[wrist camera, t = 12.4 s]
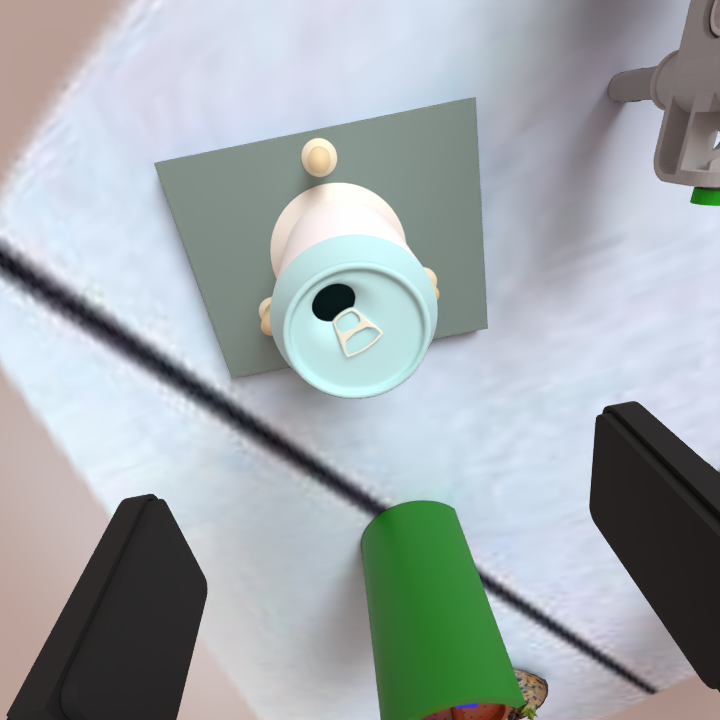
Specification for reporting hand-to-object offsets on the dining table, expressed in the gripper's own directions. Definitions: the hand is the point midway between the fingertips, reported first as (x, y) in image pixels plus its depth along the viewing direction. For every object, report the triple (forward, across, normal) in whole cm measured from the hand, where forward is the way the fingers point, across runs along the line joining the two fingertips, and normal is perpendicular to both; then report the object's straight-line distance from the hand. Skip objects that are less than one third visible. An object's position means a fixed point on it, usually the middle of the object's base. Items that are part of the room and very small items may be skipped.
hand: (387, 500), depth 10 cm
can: (+21, 0, 0) cm, 21 cm away
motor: (+22, -1, +28) cm, 36 cm away
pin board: (+22, 0, 0) cm, 22 cm away
